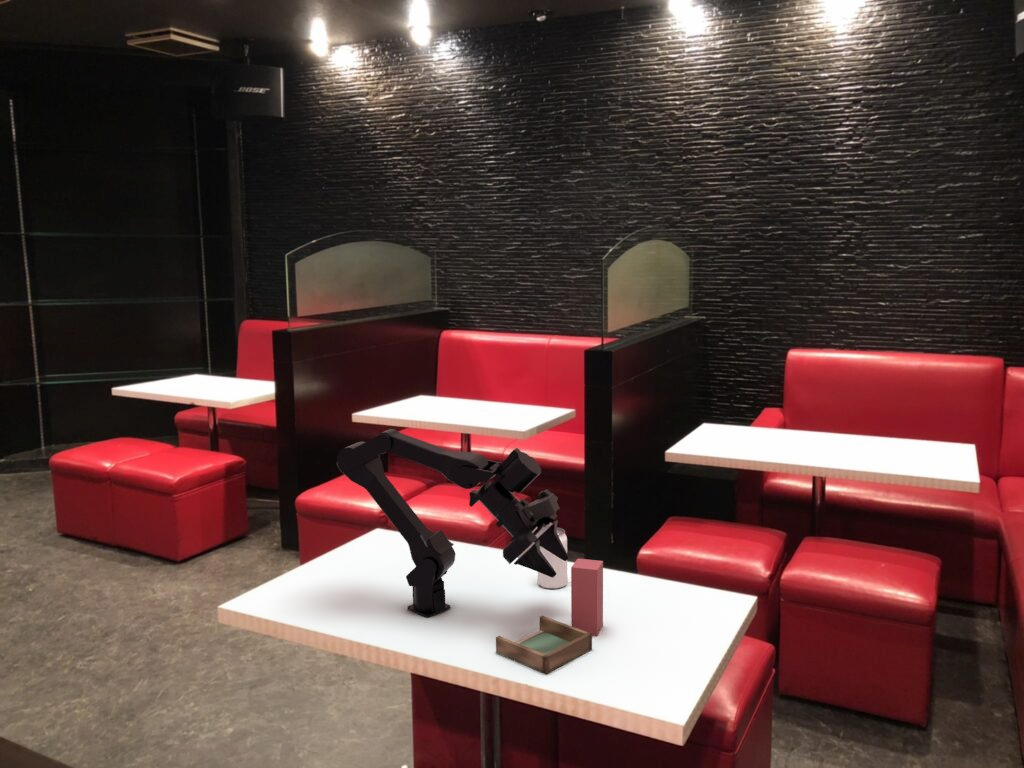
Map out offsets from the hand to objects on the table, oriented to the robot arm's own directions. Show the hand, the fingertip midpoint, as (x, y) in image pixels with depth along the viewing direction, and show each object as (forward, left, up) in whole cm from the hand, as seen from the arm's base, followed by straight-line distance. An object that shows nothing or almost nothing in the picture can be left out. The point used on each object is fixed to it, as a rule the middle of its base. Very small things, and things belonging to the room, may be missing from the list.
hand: (561, 567), depth 162 cm
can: (-15, +15, -12) cm, 25 cm away
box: (+5, -10, -12) cm, 16 cm away
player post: (+5, +2, -12) cm, 13 cm away
